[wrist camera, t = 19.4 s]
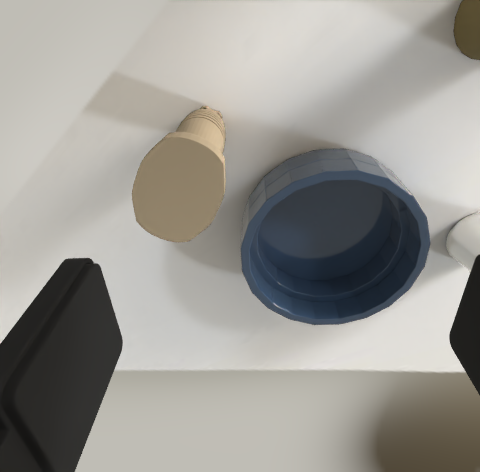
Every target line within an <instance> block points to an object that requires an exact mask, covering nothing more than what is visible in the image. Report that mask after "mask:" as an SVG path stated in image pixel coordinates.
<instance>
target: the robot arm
mask: <svg viewBox="0 0 480 472" xmlns="http://www.w3.org/2000/svg"><path fill="white" fill-rule="evenodd" d="M122 344H123V342H122V336H121V332H120V329H119V326H118V323H117V319H116V316H115V313H114V310H113V306H112V303H111V300H110V297H109V293H108V290H107V287H106V284H105V280H104V277H103V274H102V271H101V268H100V266H99V264H94V263H93V261H92V260H91V259H90V258H73V259H65V260H64V261H63V262H62V264H61V265H60V266H59V268H58V269H57V270H56V272H55V273H54V274H53V276H52V277H51V278H50V280H49V281H48V282H47V283H46V285H45V286H44V287H43V289H42V290H41V291H40V293H39V294H38V295H37V297H36V298H35V299H34V301H33V302H32V303H31V304H30V306H29V307H28V308H27V310H26V311H25V312H24V314H23V315H22V316H21V318H20V319H19V320H18V322H17V323H16V324H15V326H14V327H13V328H12V329H11V331H10V332H9V333H8V335H7V336H6V337H5V339H4V340H3V341H2V343H1V344H0V472H75V469H76V467H77V464H78V461H79V459H80V456H81V454H82V451H83V449H84V446H85V443H86V441H87V438H88V436H89V433H90V431H91V428H92V426H93V423H94V420H95V418H96V415H97V413H98V410H99V408H100V405H101V402H102V400H103V397H104V395H105V392H106V390H107V387H108V384H109V382H110V379H111V377H112V374H113V372H114V369H115V366H116V364H117V361H118V359H119V356H120V354H121V351H122ZM450 344H451V347H452V349H453V351H454V352H455V354H456V356H457V357H458V359H459V361H460V363H461V364H462V366H463V368H464V369H465V371H466V373H467V374H468V376H469V378H470V380H471V381H472V383H473V385H474V386H475V388H476V390H477V391H478V393H479V395H480V255H478V256H477V257H476V258H475V261H474V264H473V267H472V269H471V272H470V275H469V278H468V281H467V284H466V287H465V290H464V293H463V296H462V299H461V302H460V305H459V308H458V311H457V314H456V317H455V320H454V323H453V325H452V328H451V331H450Z"/></svg>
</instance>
